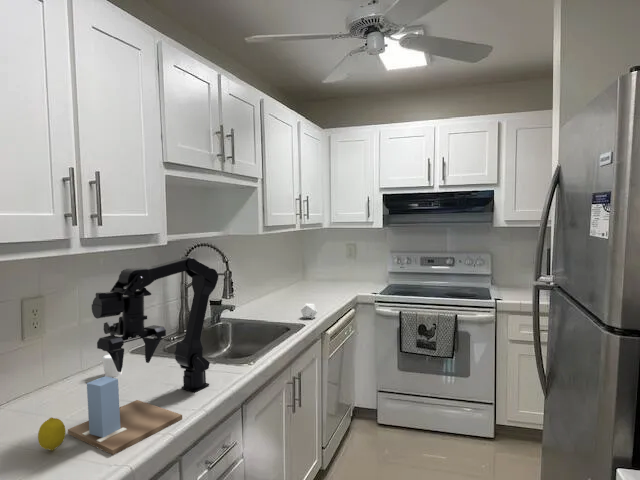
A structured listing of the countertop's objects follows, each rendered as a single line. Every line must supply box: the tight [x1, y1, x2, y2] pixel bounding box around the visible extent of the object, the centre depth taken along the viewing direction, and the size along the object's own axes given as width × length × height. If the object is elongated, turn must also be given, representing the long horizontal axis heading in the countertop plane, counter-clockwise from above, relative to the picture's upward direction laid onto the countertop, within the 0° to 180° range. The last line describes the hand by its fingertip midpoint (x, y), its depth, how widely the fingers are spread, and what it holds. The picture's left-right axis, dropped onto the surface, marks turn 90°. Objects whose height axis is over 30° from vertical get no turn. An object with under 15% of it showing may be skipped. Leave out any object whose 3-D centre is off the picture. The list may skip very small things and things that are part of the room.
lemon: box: [37, 417, 66, 452], centre depth 99 cm, size 6×6×8 cm
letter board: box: [67, 399, 183, 456], centre depth 110 cm, size 20×20×1 cm
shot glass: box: [101, 353, 124, 378], centre depth 149 cm, size 7×7×7 cm
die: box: [300, 303, 318, 320], centre depth 228 cm, size 8×9×10 cm
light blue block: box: [86, 375, 120, 438], centre depth 105 cm, size 5×5×13 cm
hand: (133, 367), depth 118 cm, fingers open, 9 cm apart
